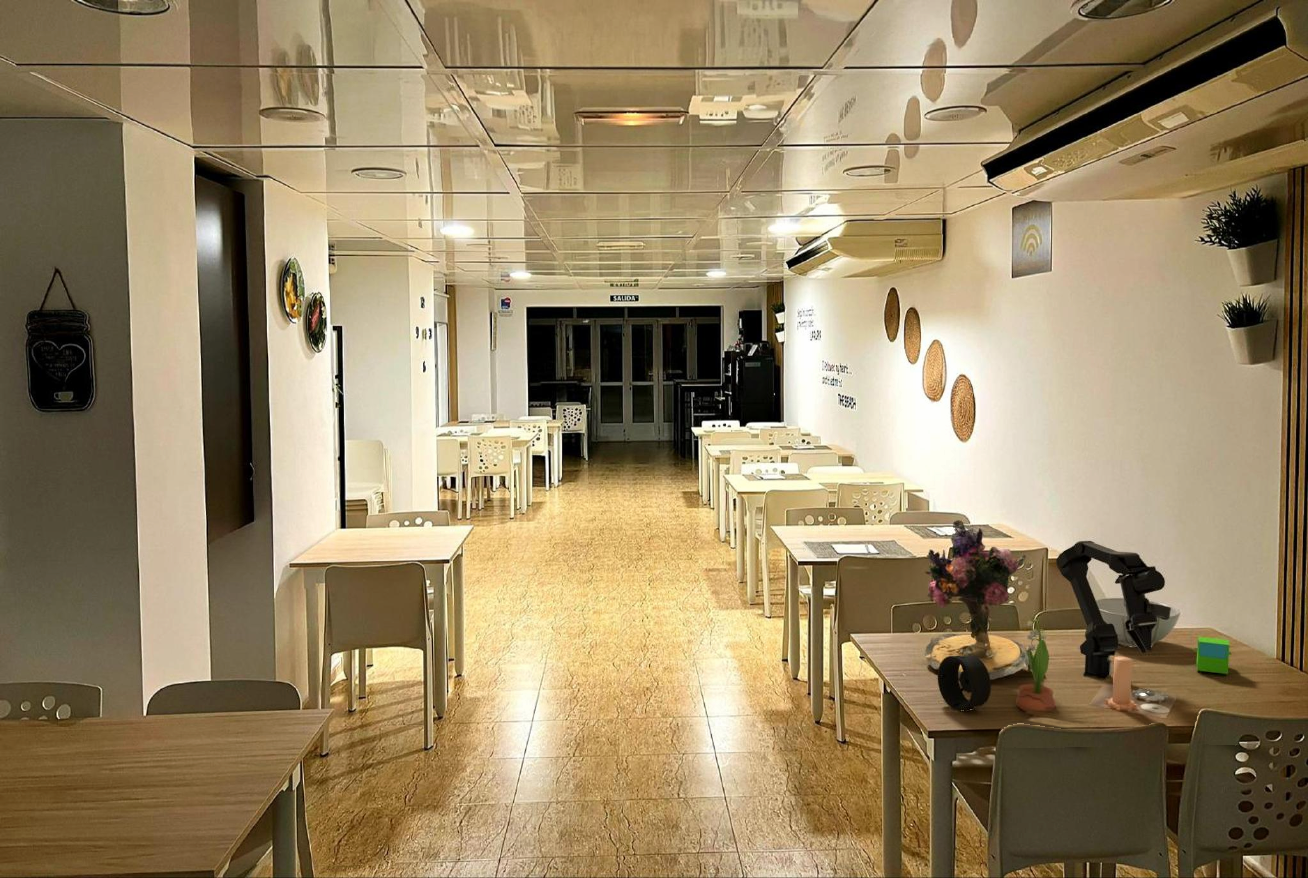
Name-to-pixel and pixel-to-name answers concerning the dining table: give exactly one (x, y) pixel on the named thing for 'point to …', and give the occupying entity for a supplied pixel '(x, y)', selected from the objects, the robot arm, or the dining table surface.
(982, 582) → the bouquet
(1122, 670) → the gear spool
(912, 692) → the dining table surface
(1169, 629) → the decorative bowl
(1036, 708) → the potted flower
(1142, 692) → the gear
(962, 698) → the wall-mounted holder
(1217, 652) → the blue-striped green cube
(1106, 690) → the gear board
